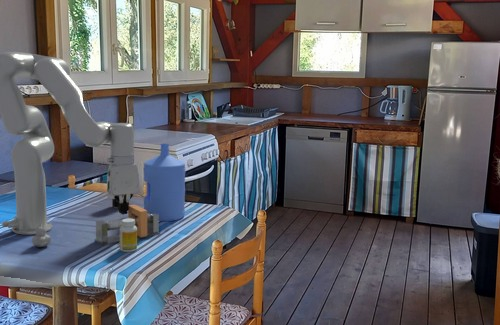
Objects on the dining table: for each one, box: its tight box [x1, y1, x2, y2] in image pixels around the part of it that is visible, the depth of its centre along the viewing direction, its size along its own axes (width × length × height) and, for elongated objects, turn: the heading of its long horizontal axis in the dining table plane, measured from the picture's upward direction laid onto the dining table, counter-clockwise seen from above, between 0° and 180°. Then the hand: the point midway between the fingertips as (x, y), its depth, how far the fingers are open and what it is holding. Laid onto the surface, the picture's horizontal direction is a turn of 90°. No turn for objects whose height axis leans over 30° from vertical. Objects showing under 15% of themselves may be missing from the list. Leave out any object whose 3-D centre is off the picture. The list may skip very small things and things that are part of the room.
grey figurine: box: [31, 222, 52, 248], centre depth 164 cm, size 5×7×8 cm
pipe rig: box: [94, 212, 161, 246], centre depth 176 cm, size 21×6×7 cm, turn 129°
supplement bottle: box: [119, 217, 138, 253], centre depth 164 cm, size 5×5×10 cm
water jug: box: [143, 143, 186, 222], centre depth 199 cm, size 16×16×28 cm
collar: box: [127, 204, 147, 238], centre depth 178 cm, size 2×9×9 cm, turn 39°
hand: (123, 213), depth 179 cm, fingers closed
